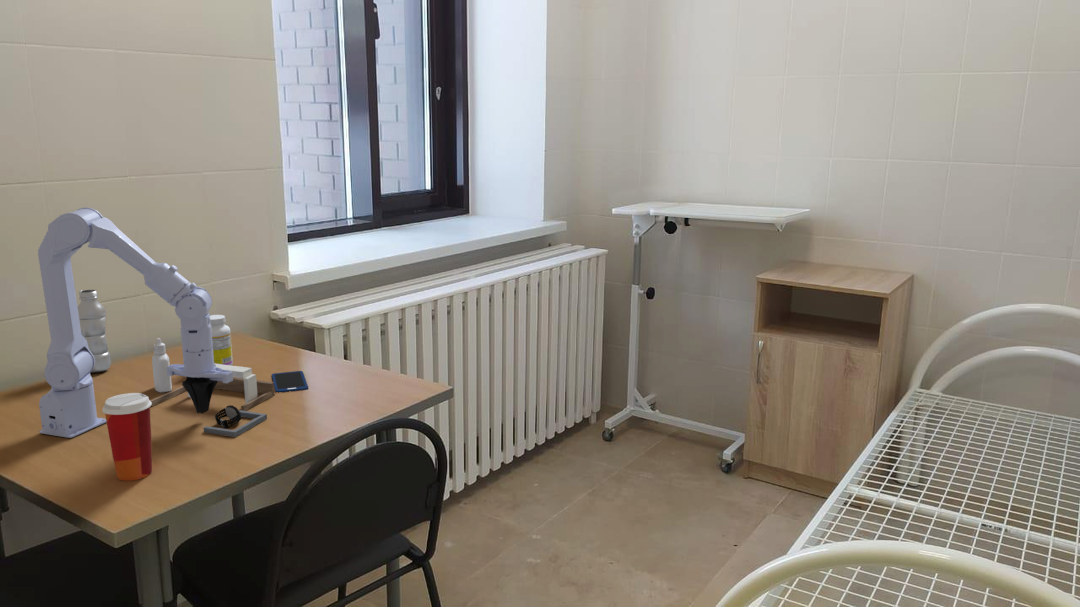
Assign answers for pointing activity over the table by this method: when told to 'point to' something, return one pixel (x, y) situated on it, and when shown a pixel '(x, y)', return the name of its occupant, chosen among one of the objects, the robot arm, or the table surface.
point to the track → (236, 385)
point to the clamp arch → (249, 380)
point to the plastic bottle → (94, 328)
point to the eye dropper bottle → (161, 368)
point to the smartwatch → (230, 413)
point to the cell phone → (289, 381)
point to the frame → (233, 433)
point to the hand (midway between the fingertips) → (202, 411)
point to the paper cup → (130, 434)
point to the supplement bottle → (221, 340)
